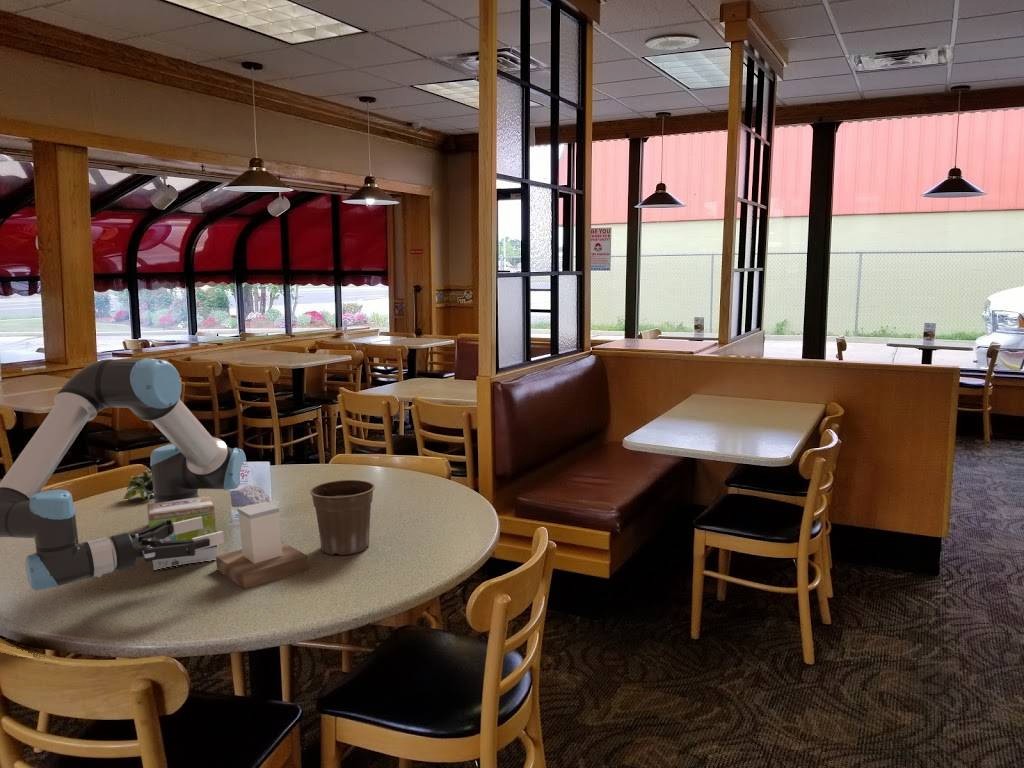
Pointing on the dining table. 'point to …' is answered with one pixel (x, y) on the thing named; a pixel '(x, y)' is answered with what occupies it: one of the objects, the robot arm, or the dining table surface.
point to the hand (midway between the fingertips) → (212, 529)
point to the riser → (261, 566)
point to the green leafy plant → (140, 485)
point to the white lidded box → (260, 532)
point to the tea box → (181, 512)
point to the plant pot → (343, 515)
